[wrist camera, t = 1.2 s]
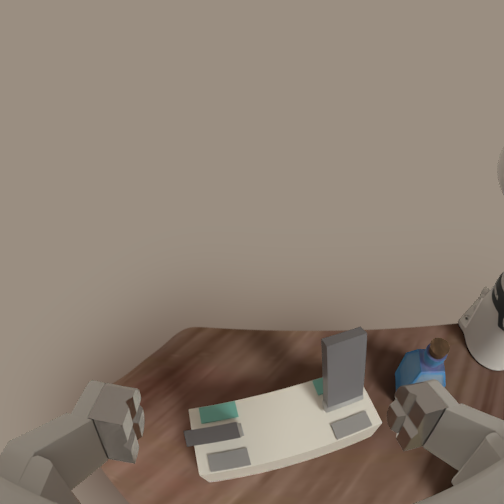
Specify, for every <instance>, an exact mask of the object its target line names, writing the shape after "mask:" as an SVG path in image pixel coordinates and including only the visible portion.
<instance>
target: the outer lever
mask: <svg viewBox="0 0 504 504" xmlns="http://www.w3.org/2000/svg"><path fill="white" fill-rule="evenodd" d="M184 435H185V440H186V444H187V447H188V446H196V445H202V444H209V443H215V442H220V441H226V440H231V439H236V438H241V437H242V436H244V433H243V429H242V425H241V423H238V422H233V423H228V424H223V425H217V426H212V427H206V428H200V429H194V430H187V431H184Z"/></svg>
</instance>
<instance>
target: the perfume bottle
mask: <svg viewBox="0 0 504 504" xmlns="http://www.w3.org/2000/svg"><path fill="white" fill-rule="evenodd" d="M449 350H450V347H449V344H448V343H447V341H446V340H444V339H442V338H435V339H433V340H432V341H431V343H430V344H429V345H428V346H427V348H426V349H417V350H414V351H410V352H407V353H406V354H405V356H404V358H403V359H402V361H401V363H400V365H399V367H398V369H397V370H396V372H395V381H396V390H397V389H398V388H399V387H400V386H403V385H409V384H414V383H419V382H423V381H427V380H432V379H435V380H438V381H439V382H440V383H441V384H442V386H443V387H445V368H444V360H445V359H446V357H447V354H448V352H449Z"/></svg>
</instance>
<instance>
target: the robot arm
mask: <svg viewBox="0 0 504 504" xmlns="http://www.w3.org/2000/svg"><path fill="white" fill-rule="evenodd" d="M498 180H499V184H500V188H501V190H502V193H503V195H504V148H503V150H502V152H501V154H500V157H499V161H498ZM458 323H459V326H460V328H461V329H462V331H463V332H464V335H465V340H466V344H467V347H468V349H469V351H470V353H471V354H472V356H473V357H474V358H475V359H476V360H477V361H478V362H479V363H480V364H481V365H483V366H485V367H486V368H489V369H492V370H498V371H499V370H504V272H503V273H502V274H501V275H500V277H499V278H498V280H497V281H496V283H495V285H494V286H493V288H492V289H491V290H489V289H488V288H487V287H484V289H483V290H482V292H481V294H480V297H479V298H478V299H477V300H476V301H475V303H474V304H473V305H472V306H471V307H470V308H469V309H468V310H467V311H466V313H465V314H464V315H463V316H462V317H461V318H460V320H459V322H458ZM394 396H395V398H396V400H395V401H394V402H392V403H391V404H390V406H389V408H388V411H387V422H388V425H389V427H390V429H391V430H393V431H394V432H396V433H397V436H396V439H397V441H398V443H399V444H400V446H401V448H402V450H403V451H407V450H410V449H414V448H418V447H421V446H423V448H425V449H426V450H428V451H429V452H431V453H432V454H434V455H435V456H437V457H438V458H440V459H441V460H443V461H444V462H446V463H447V464H449V465H450V466H452V467H454V468H455V469H457V470H458V471H459V472H458V473H457V474H456V475H455V476H454V477H453V479H452V481H451V482H452V484H453V487H451V488H449V489H446V490H444V491H442V492H440V493H438V494H436V495H433V496H431V497H429V498H426V499H424V500H421V501H419V502H416V503H414V504H504V420H501V419H499V418H496V417H494V416H491V415H489V414H486V413H484V412H481V411H479V410H476V409H474V408H471V407H469V406H467V405H464V404H458V402H457V401H456V400H455V399H454V398H453V397H452V396H451V395H450V393H449V392H448V391H447V390H446V389H445V388H444V387H443V386H442V384H441V383H440V382H439V381H438V380H435V379H432V380H427V381H423V382H419V383H414V384H409V385H403V386H400V387H399V388H398V389H397V390H396V392H395V395H394ZM140 401H141V395H140V391H139V390H138V389H136V388H131V387H125V386H120V385H115V384H110V383H103V382H99V381H94V380H91V381H90V382H89V383H88V384H87V386H86V388H85V390H84V391H83V393H82V395H81V397H80V398H79V400H78V402H77V404H76V405H75V407H74V409H73V411H72V413H71V414H69V413H66V414H64V415H62V416H60V417H58V418H56V419H54V420H52V421H50V422H48V423H46V424H44V425H42V426H40V427H38V428H36V429H34V430H31V431H29V432H27V433H25V434H23V435H21V436H19V437H17V438H15V439H12V440H10V441H9V442H8V443H7V445H6V447H5V448H4V450H3V452H2V453H1V455H0V504H81V503H80V502H79V500H78V499H77V498H76V497H75V495H74V494H73V493H72V491H71V490H72V489H73V488H75V487H76V486H77V485H78V484H80V483H81V482H82V481H83V480H85V479H86V478H87V477H88V476H90V475H91V474H92V473H93V472H94V471H96V470H97V469H98V468H99V467H100V466H102V465H103V464H104V463H105V462H106V461H108V459H112V460H117V461H123V462H128V463H134V464H135V462H136V458H137V454H138V450H139V445H138V441H137V440H138V439H139V438H141V437H142V435H143V431H144V411H143V408H142V407H141V406H140V405H139V404H140Z"/></svg>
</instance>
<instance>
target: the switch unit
mask: <svg viewBox="0 0 504 504" xmlns="http://www.w3.org/2000/svg"><path fill="white" fill-rule="evenodd" d="M322 401H323V377H322V378H318V379H315V380H312V381H309V382H305V383H302V384H299V385H295V386H292V387H288V388H285V389H281V390H277V391H273V392H269V393H265V394H261V395H257V396H253V397H249V398H244V399H240V400H235V401H231V402H226V403H221V404H216V405H210V406H205V407H199V408H193V409H188V410H189V417H190V423H191V430H194V429H200V428H206V427H212V426H217V425H223V424H228V423H233V422H238V423H241V425H242V429H243V433H244V436H242V437H241V438H236V439H231V440H226V441H220V442H215V443H209V444H202V445H196V446H194V448H195V454H196V459H197V465H198V470H199V475H200V476H201V477H203V478H204V479H205V480H207V481H208V482H216V481H222V480H228V479H234V478H239V477H244V476H249V475H254V474H258V473H263V472H267V471H271V470H275V469H279V468H282V467H286V466H290V465H293V464H297V463H300V462H303V461H307V460H310V459H313V458H316V457H319V456H322V455H325V454H328V453H330V452H333V451H336V450H339V449H341V448H344V447H346V446H349V445H351V444H354V443H356V442H359V441H361V440H364V439H366V438H368V437H371V436H372V434H373V433H374V432H375V431H376V430H377V428H378V427H379V426H380V425H381V423H382V421H381V419H380V417H379V415H378V413H377V412H376V410H375V408H374V406H373V404H372V402H371V400H370V398H369V396H368V394H367V392H366V390H365V388H364V387H363V399H362V400H360V401H357V402H355V403H352V404H350V405H347V406H344V407H342V408H339V409H336V410H333V411H331V412H328V413H326V412H325V411H324V408H323V405H322Z"/></svg>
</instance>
